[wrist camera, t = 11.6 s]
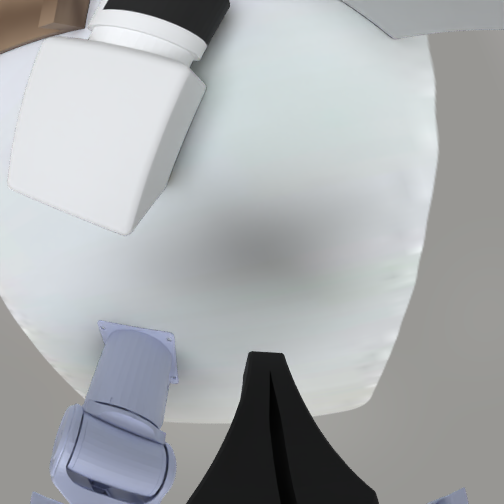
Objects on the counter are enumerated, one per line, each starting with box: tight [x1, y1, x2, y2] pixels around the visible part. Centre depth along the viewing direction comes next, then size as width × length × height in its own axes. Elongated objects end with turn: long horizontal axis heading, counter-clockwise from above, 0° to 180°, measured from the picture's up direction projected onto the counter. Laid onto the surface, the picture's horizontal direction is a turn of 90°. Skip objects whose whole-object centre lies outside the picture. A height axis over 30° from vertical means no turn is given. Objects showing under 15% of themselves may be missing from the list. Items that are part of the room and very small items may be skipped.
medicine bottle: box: [7, 0, 230, 236], centre depth 11 cm, size 7×7×12 cm
